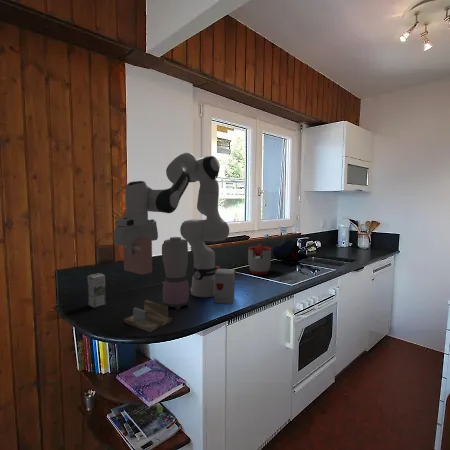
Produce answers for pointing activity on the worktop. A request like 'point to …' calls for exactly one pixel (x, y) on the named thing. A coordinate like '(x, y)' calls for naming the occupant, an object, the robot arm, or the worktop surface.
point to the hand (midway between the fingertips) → (137, 253)
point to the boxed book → (139, 257)
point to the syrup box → (96, 290)
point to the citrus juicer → (259, 259)
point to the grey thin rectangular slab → (140, 316)
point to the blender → (175, 272)
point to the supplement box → (224, 286)
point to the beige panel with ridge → (152, 316)
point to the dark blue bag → (289, 253)
